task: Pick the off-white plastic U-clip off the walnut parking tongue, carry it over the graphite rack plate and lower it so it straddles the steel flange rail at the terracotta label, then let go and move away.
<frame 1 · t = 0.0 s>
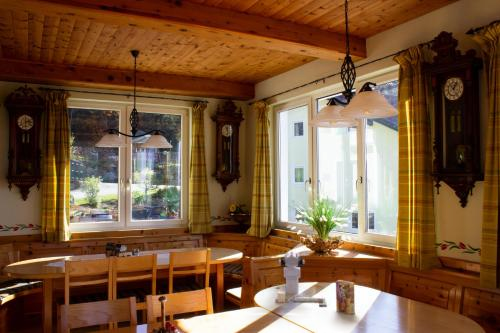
hand: (291, 263, 233), 22 cm above the table, tool horizontal, fingers open, 7 cm apart
rack: (309, 302, 233), on the table
candy box: (345, 312, 217), on the table
u clip: (281, 300, 235), point 1 cm above the table, touching parking tongue
parking tongue: (281, 302, 235), on the table
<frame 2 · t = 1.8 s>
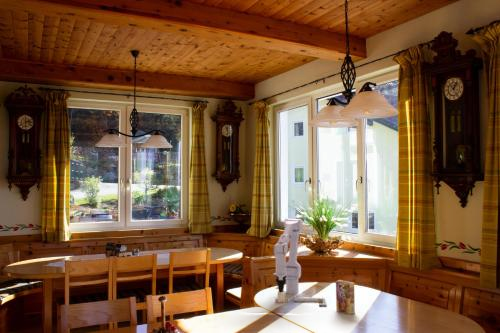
hand: (281, 290, 235), 7 cm above the table, tool pointing down, fingers open, 7 cm apart
nothing on the table moved.
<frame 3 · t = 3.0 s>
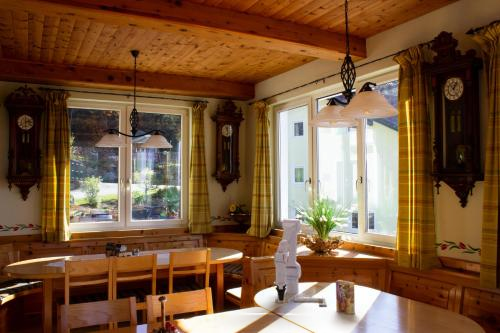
hand: (281, 298, 235), 2 cm above the table, tool pointing down, fingers closed on u clip, 5 cm apart
u clip: (281, 300, 235), point 1 cm above the table, touching gripper, parking tongue
everything else where it was.
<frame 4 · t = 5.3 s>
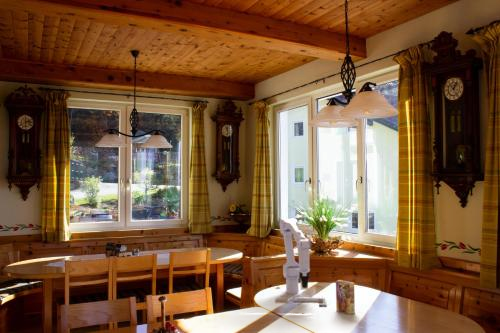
hand: (304, 286, 233), 9 cm above the table, tool pointing down, fingers closed on u clip, 5 cm apart
u clip: (304, 288, 233), point 8 cm above the table, touching gripper
everything else where it was.
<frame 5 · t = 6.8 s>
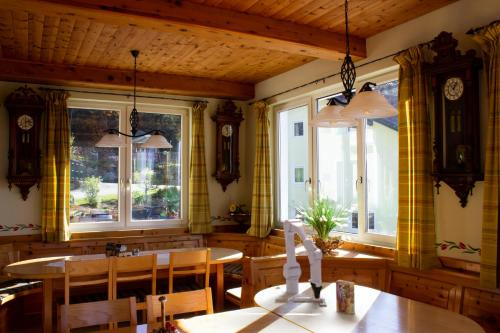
hand: (316, 296, 233), 3 cm above the table, tool pointing down, fingers closed on u clip, 5 cm apart
u clip: (315, 298, 233), point 2 cm above the table, touching gripper
everything else where it was.
when the fingers open (3 cm above the table, at t = 7.9 s): u clip stays where it is, resting on rack.
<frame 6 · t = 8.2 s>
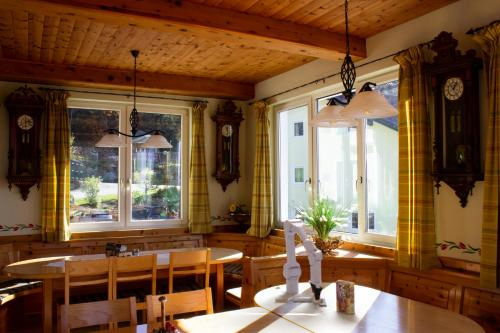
hand: (316, 297, 233), 3 cm above the table, tool pointing down, fingers open, 7 cm apart
u clip: (315, 301, 233), point 1 cm above the table, touching rack
everything else where it was.
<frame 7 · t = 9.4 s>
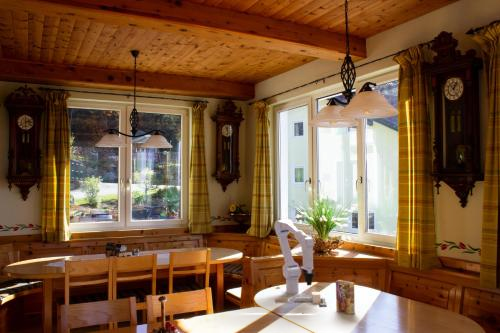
hand: (308, 283, 238), 9 cm above the table, tool pointing down, fingers open, 7 cm apart
nothing on the table moved.
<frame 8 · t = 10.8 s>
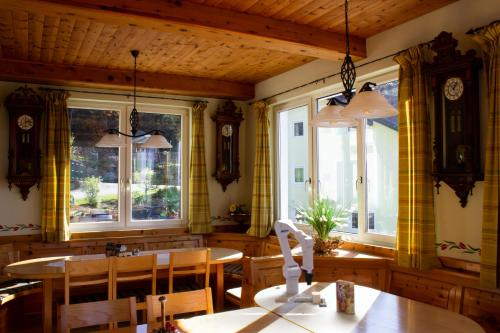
hand: (308, 283, 238), 9 cm above the table, tool pointing down, fingers open, 7 cm apart
nothing on the table moved.
at the end: u clip 0.2 cm from the target spot on the rack, point 0.8 cm above the rack's base; u clip tilted 0°; the gripper is holding nothing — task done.
